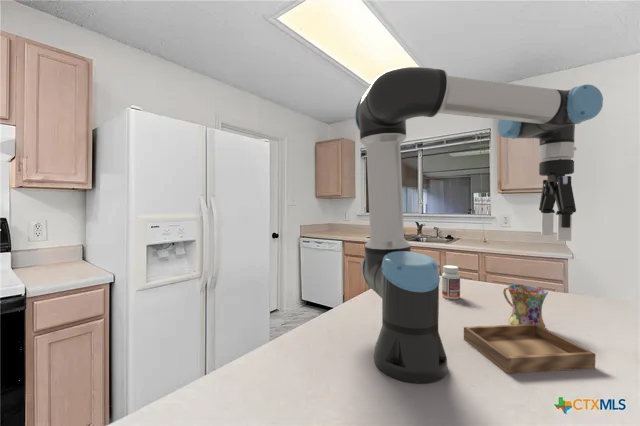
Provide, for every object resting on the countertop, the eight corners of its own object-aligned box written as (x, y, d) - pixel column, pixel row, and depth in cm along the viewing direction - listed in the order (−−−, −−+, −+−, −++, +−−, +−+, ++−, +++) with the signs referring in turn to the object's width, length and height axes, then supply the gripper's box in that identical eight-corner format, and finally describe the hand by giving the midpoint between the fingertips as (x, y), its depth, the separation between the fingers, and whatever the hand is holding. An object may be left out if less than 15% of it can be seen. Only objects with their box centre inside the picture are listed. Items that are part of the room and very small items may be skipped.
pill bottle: (462, 297, 111) (462, 266, 110) (456, 300, 106) (456, 269, 106) (446, 293, 115) (446, 264, 115) (439, 297, 111) (439, 266, 110)
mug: (555, 330, 81) (556, 292, 81) (529, 335, 78) (530, 295, 78) (515, 315, 92) (515, 281, 92) (491, 318, 90) (491, 283, 89)
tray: (507, 373, 61) (507, 358, 61) (463, 339, 76) (463, 327, 76) (595, 368, 62) (595, 353, 62) (535, 335, 78) (535, 323, 78)
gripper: (594, 152, 69) (593, 243, 70) (557, 165, 92) (556, 233, 93) (555, 154, 72) (553, 242, 72) (528, 166, 95) (527, 233, 95)
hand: (554, 237), depth 82 cm, fingers open, 13 cm apart
